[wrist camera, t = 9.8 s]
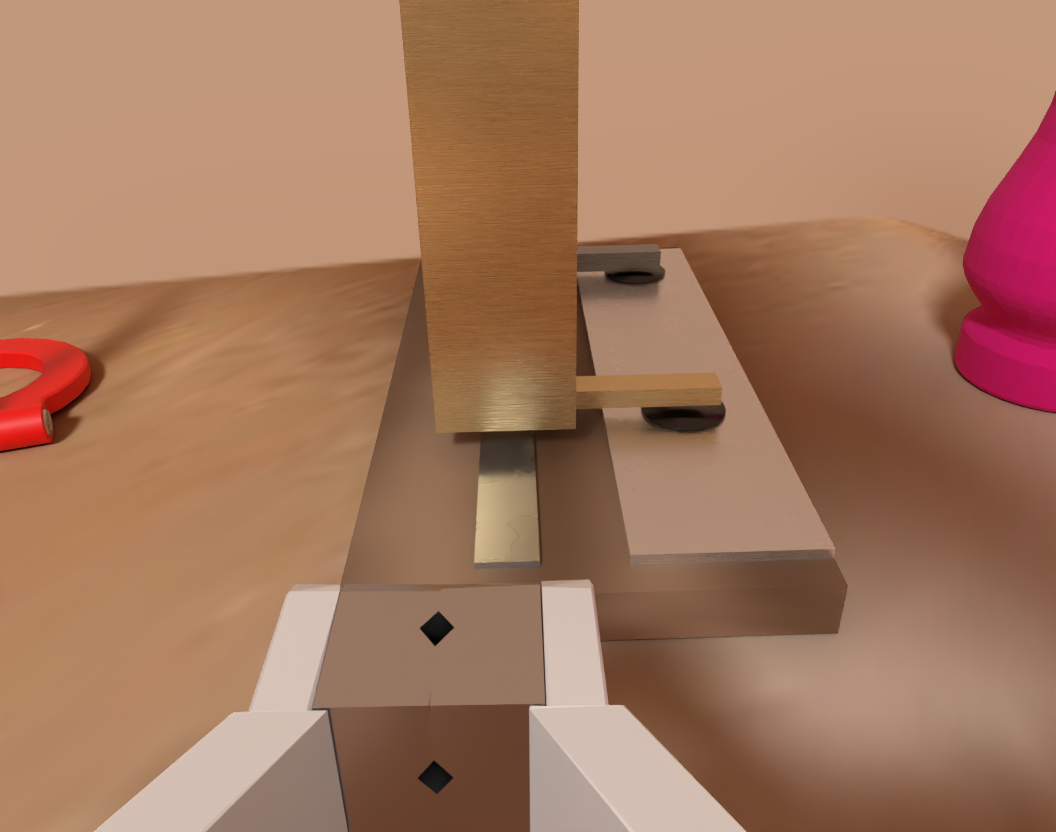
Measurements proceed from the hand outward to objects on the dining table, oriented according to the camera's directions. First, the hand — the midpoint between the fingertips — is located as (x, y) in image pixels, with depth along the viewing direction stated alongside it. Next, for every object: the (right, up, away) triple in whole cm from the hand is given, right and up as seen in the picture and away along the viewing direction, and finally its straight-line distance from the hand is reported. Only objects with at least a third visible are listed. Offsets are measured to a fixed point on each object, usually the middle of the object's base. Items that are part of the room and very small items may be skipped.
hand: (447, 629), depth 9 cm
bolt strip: (+4, +4, +22) cm, 23 cm away
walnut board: (+2, +3, +23) cm, 23 cm away
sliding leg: (+2, +3, +18) cm, 18 cm away
